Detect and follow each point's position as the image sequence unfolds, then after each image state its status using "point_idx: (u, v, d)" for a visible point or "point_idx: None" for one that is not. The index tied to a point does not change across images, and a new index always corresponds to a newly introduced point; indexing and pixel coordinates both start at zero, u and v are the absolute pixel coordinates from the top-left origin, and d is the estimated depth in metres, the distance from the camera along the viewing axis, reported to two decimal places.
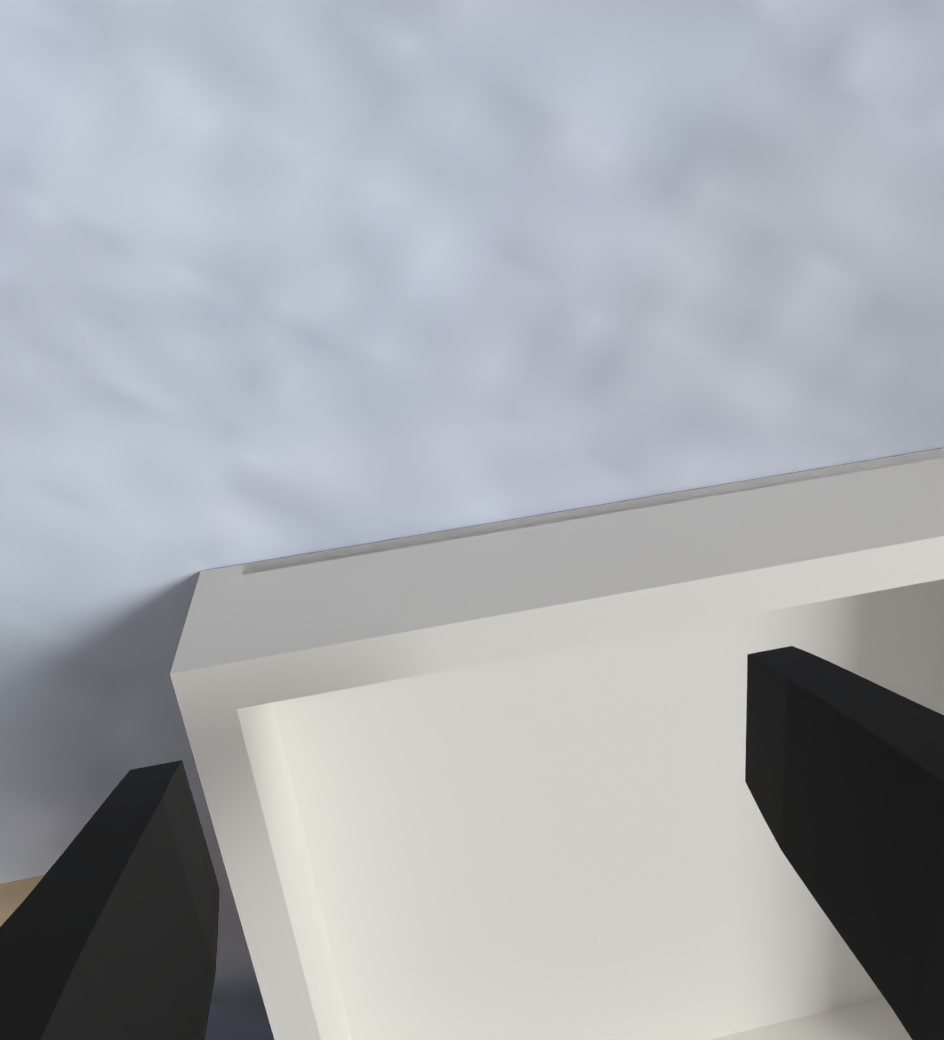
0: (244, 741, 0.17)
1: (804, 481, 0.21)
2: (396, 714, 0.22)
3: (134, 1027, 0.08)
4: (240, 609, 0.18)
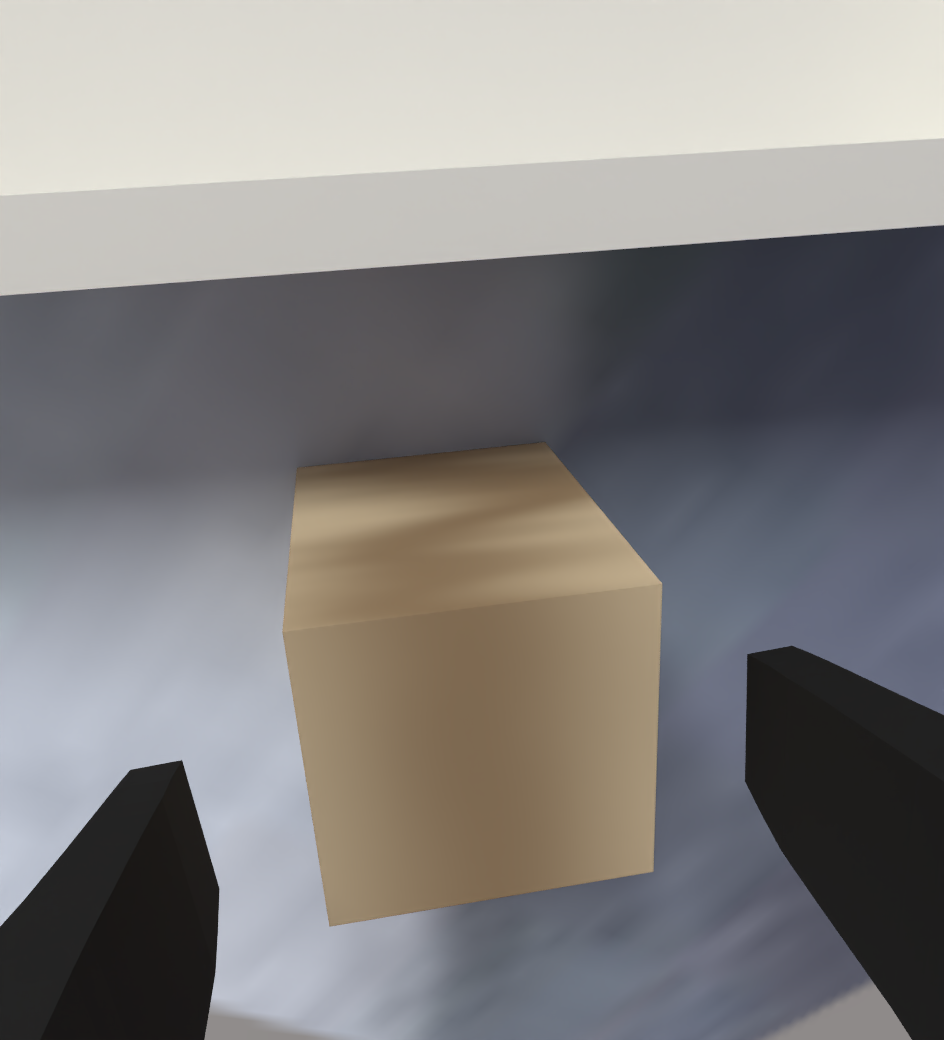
0: None
1: None
2: None
3: (134, 1027, 0.08)
4: None
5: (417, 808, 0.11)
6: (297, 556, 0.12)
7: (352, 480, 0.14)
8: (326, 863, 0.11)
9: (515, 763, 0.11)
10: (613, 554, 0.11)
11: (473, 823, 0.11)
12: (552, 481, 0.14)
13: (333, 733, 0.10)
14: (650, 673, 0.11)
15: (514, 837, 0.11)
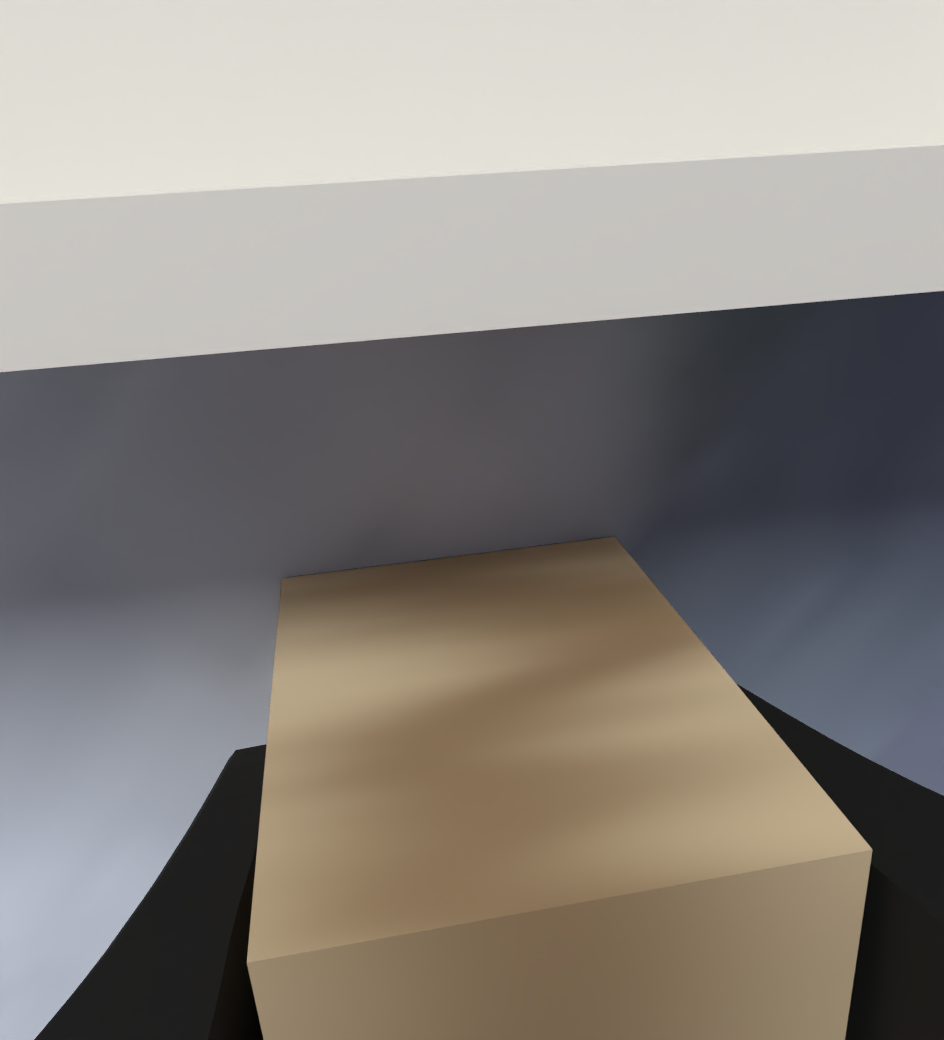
0: None
1: None
2: None
3: None
4: None
5: None
6: (277, 766, 0.08)
7: (357, 605, 0.10)
8: None
9: None
10: (771, 773, 0.07)
11: None
12: (640, 611, 0.10)
13: None
14: (840, 975, 0.07)
15: None
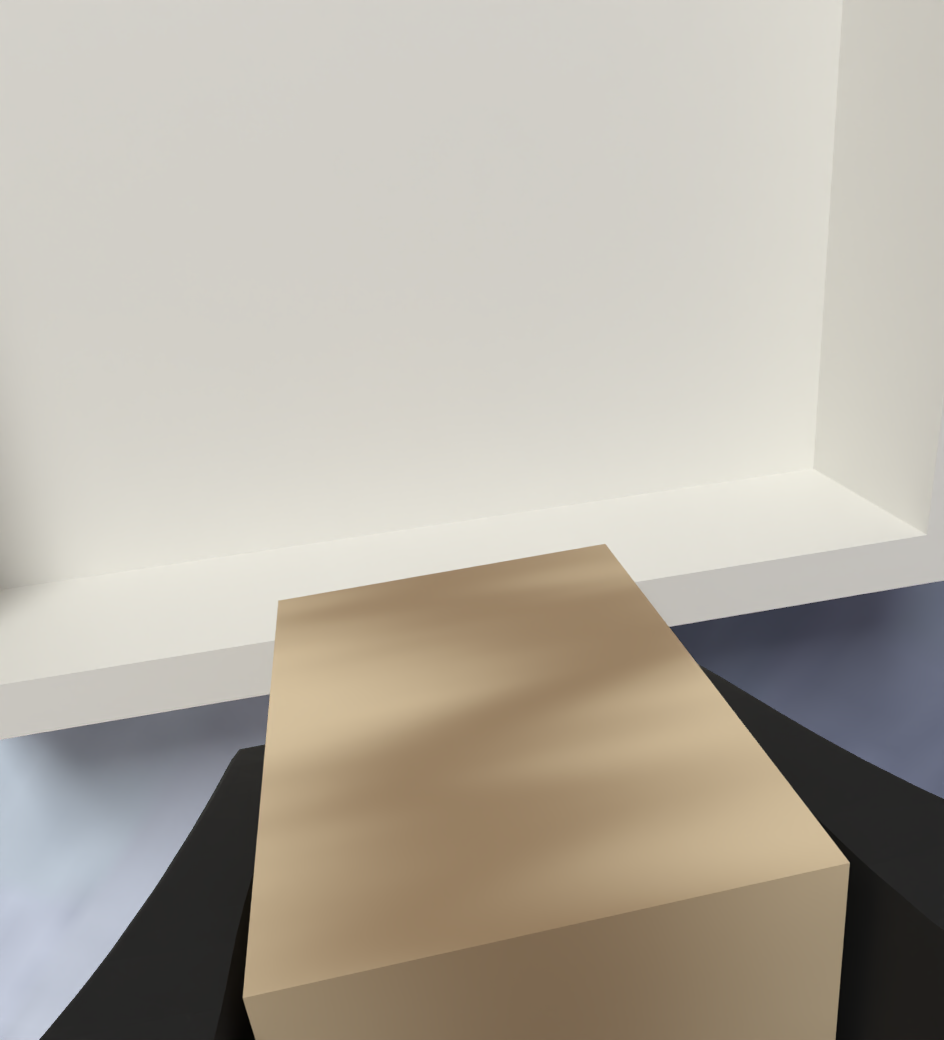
0: None
1: None
2: (105, 431, 0.16)
3: None
4: None
5: None
6: (272, 796, 0.08)
7: (352, 626, 0.11)
8: None
9: None
10: (752, 787, 0.07)
11: None
12: (629, 622, 0.10)
13: None
14: (825, 983, 0.07)
15: None
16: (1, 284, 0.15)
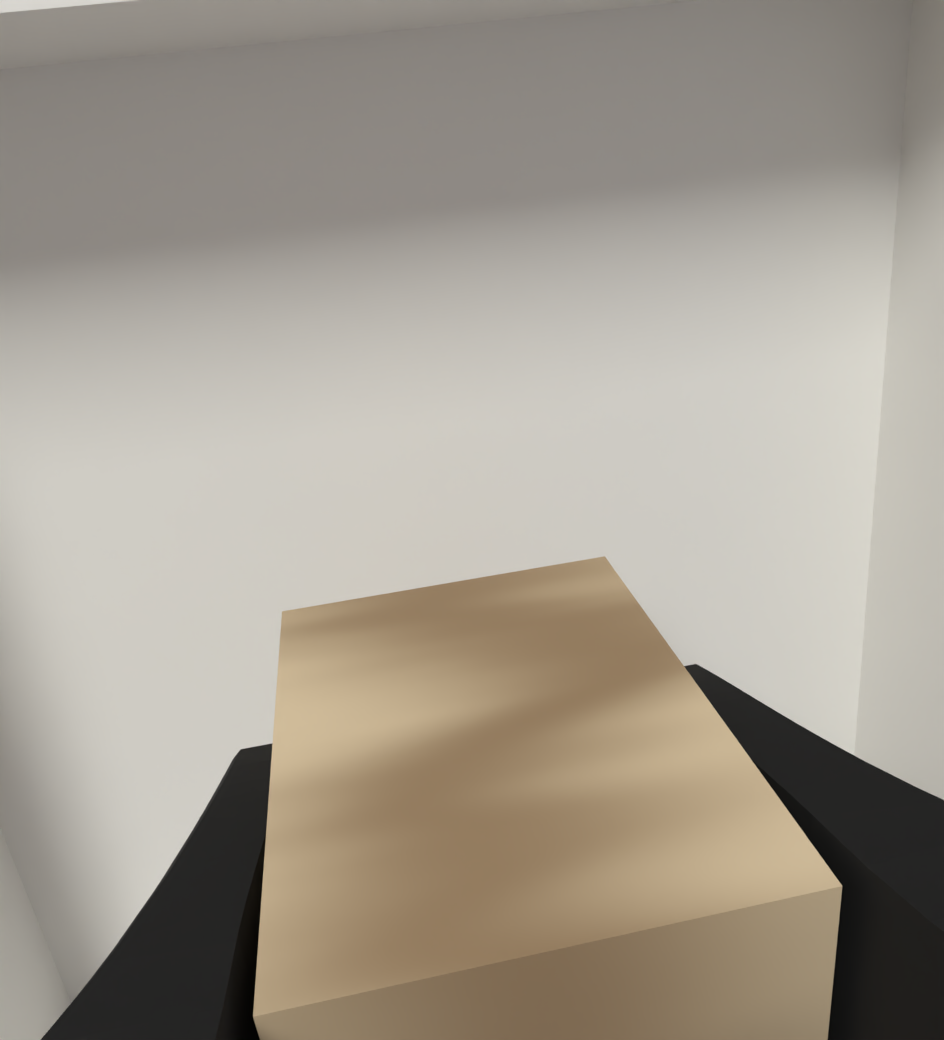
0: None
1: None
2: None
3: None
4: None
5: None
6: (279, 812, 0.08)
7: (355, 638, 0.11)
8: None
9: None
10: (748, 808, 0.07)
11: None
12: (628, 637, 0.10)
13: None
14: (818, 1000, 0.07)
15: None
16: (117, 779, 0.17)
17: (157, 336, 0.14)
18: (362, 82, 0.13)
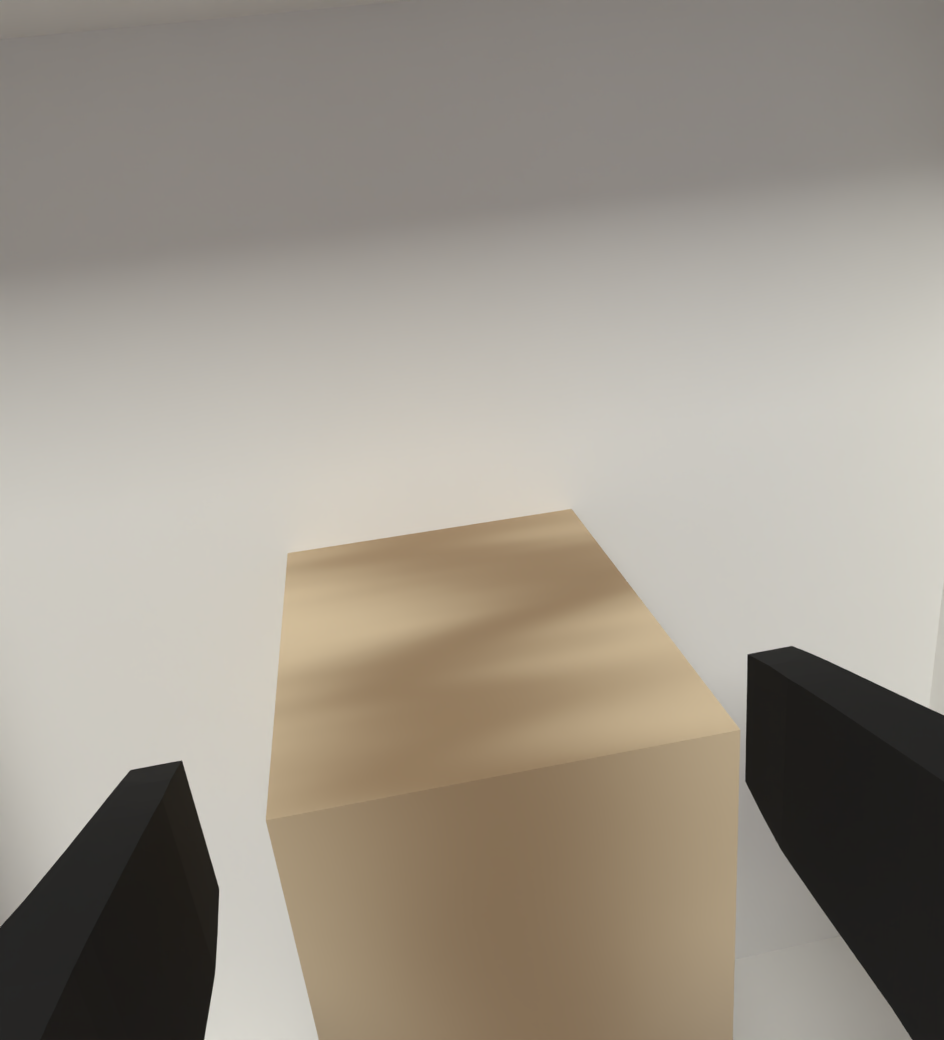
0: None
1: None
2: None
3: (134, 1027, 0.08)
4: None
5: (444, 1005, 0.09)
6: (286, 692, 0.10)
7: (351, 571, 0.12)
8: None
9: (564, 947, 0.09)
10: (672, 681, 0.09)
11: (514, 1016, 0.09)
12: (586, 567, 0.12)
13: (336, 930, 0.08)
14: (726, 832, 0.09)
15: (565, 1029, 0.09)
16: None
17: (124, 364, 0.12)
18: (367, 63, 0.11)
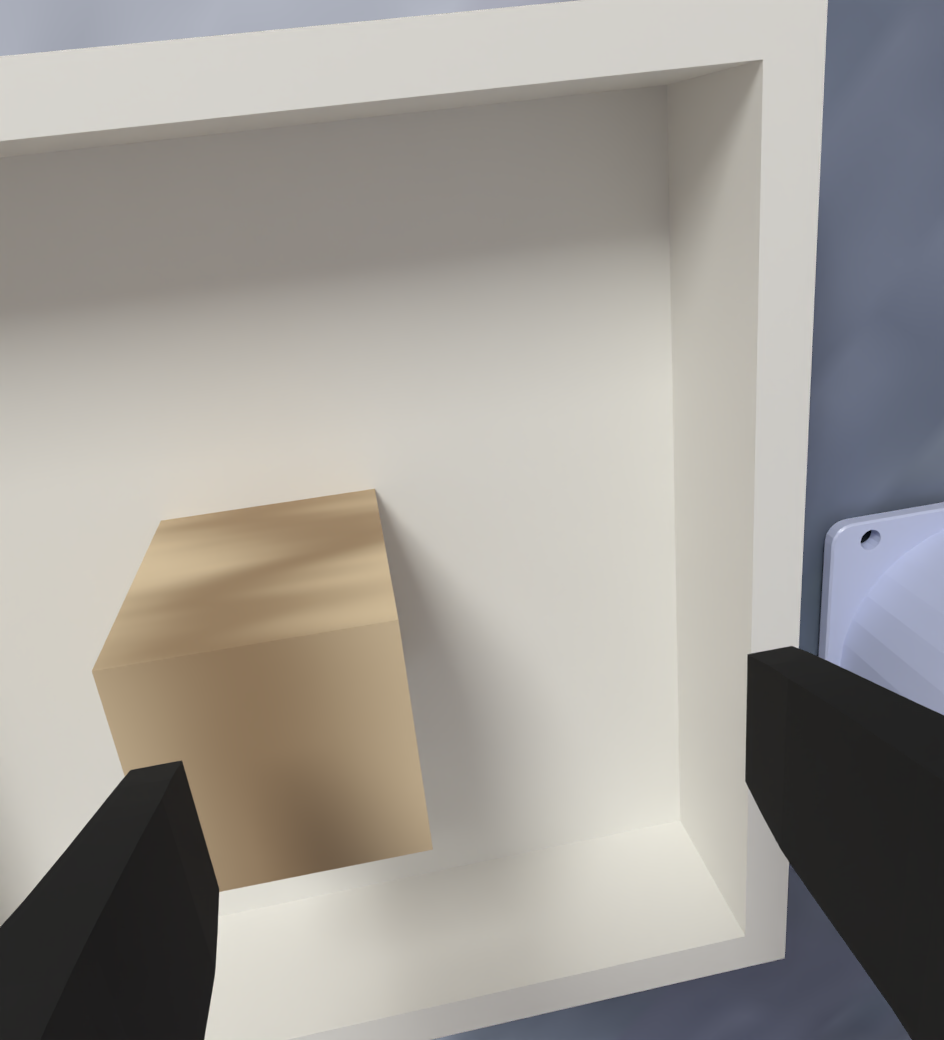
0: None
1: None
2: None
3: (134, 1027, 0.08)
4: None
5: (223, 805, 0.14)
6: (128, 605, 0.14)
7: (200, 532, 0.17)
8: None
9: (301, 766, 0.14)
10: (374, 594, 0.14)
11: (272, 815, 0.14)
12: (361, 528, 0.17)
13: (144, 748, 0.13)
14: (401, 690, 0.14)
15: (309, 826, 0.14)
16: (17, 759, 0.20)
17: (34, 383, 0.17)
18: (198, 175, 0.16)
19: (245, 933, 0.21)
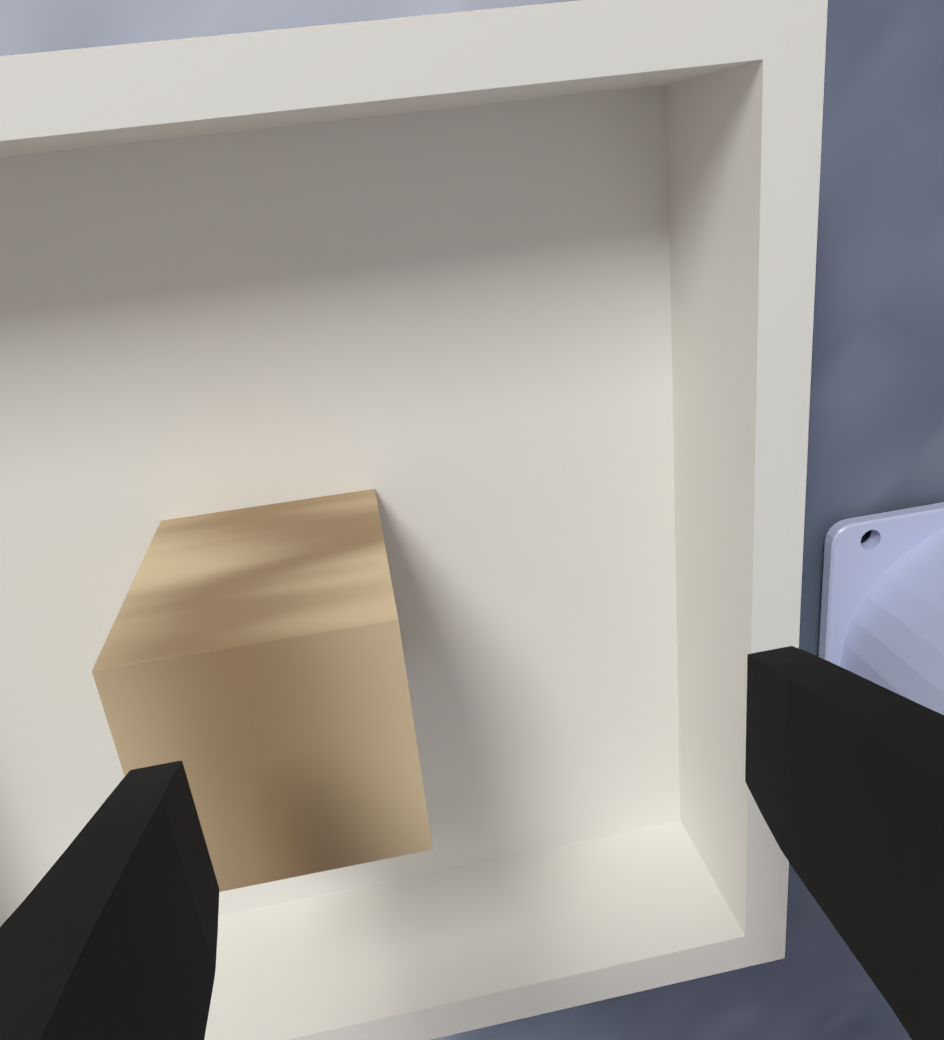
0: None
1: None
2: None
3: (134, 1027, 0.08)
4: None
5: (223, 805, 0.14)
6: (128, 605, 0.14)
7: (200, 532, 0.17)
8: None
9: (301, 766, 0.14)
10: (374, 594, 0.14)
11: (272, 815, 0.14)
12: (361, 528, 0.17)
13: (144, 748, 0.13)
14: (401, 690, 0.14)
15: (309, 826, 0.14)
16: (17, 759, 0.20)
17: (34, 383, 0.17)
18: (198, 175, 0.16)
19: (245, 933, 0.21)
